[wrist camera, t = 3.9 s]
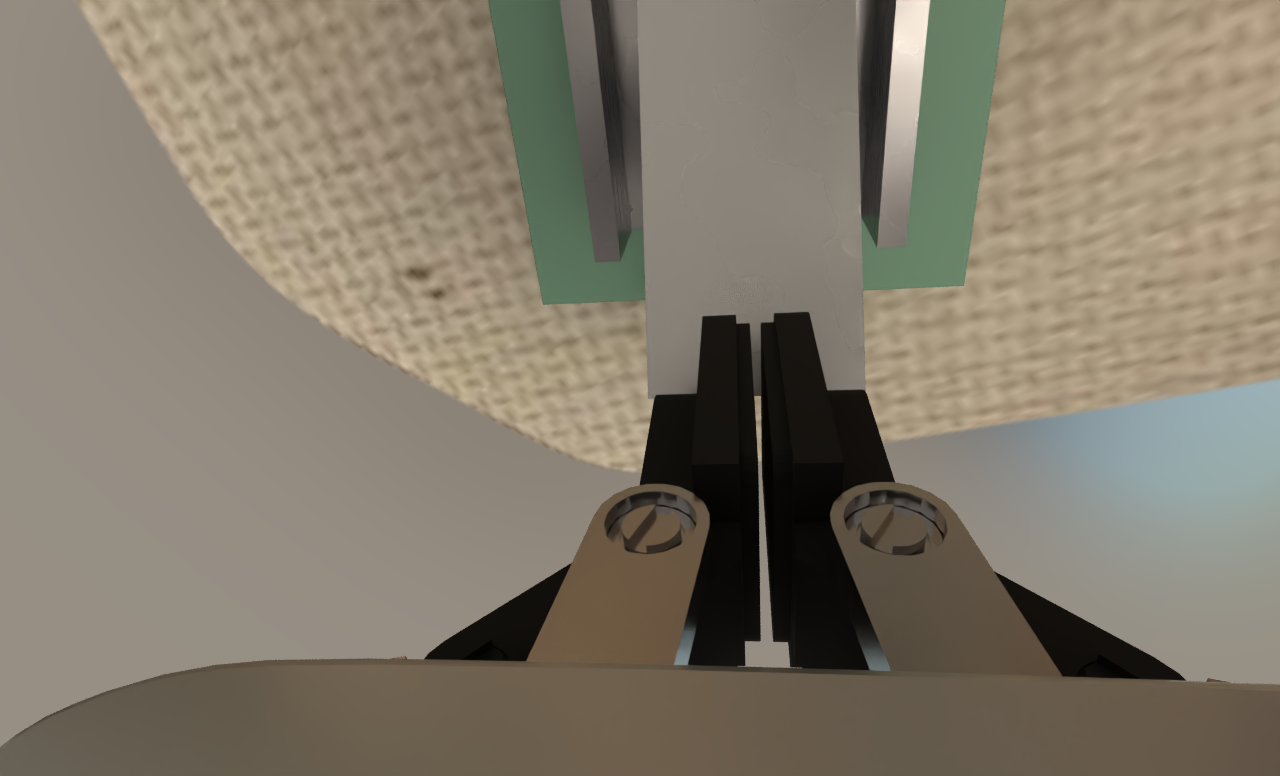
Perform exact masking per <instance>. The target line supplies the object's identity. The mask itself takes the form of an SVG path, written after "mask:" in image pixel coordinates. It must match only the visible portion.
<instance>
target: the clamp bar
mask: <svg viewBox="0 0 1280 776" xmlns="http://www.w3.org/2000/svg"><path fill="white" fill-rule="evenodd" d="M637 19H638V54H639V89H640V124H641V159H642V194H643V229H644V264H645V298H646V333H647V368H648V398H655V396H656V395H663V394H697V382H698V369H699V355H700V342H701V328H702V317H703V316H717V315H736V324H739V323H750V334H751V351H752V368H753V385H754V396H761V323H764V322H773V320H774V313H790V312H809V314H810V318H811V322H812V326H813V331H814V335H815V339H816V344H817V348H818V352H819V356H820V361H821V365H822V369H823V374H824V378H825V382H826V387H827V390H856V389H863V390H865V351H864V311H863V271H862V230H861V190H860V150H859V110H858V70H857V30H856V0H637ZM865 392H866V391H865Z"/></svg>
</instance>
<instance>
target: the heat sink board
mask: <svg viewBox="0 0 1280 776" xmlns="http://www.w3.org/2000/svg"><path fill="white" fill-rule="evenodd" d="M1005 2H1006V0H856V30H857V70H858V110H859V150H860V190H861V230H862V271H863V290H881V289H904V288H926V287H948V286H964V282H965V275H966V268H967V261H968V254H969V247H970V241H971V234H972V227H973V220H974V213H975V207H976V200H977V193H978V186H979V179H980V172H981V166H982V159H983V152H984V145H985V138H986V132H987V125H988V118H989V111H990V104H991V98H992V91H993V84H994V77H995V70H996V63H997V57H998V50H999V43H1000V36H1001V29H1002V23H1003V16H1004V9H1005ZM489 6H490V11H491V17H492V23H493V28H494V34H495V39H496V45H497V50H498V56H499V62H500V67H501V73H502V78H503V84H504V89H505V95H506V101H507V106H508V112H509V117H510V123H511V128H512V134H513V140H514V145H515V151H516V156H517V162H518V168H519V173H520V179H521V184H522V190H523V195H524V201H525V207H526V212H527V218H528V223H529V229H530V234H531V240H532V246H533V251H534V257H535V262H536V268H537V274H538V279H539V285H540V290H541V296H542V301H543V305H546V304H568V303H591V302H613V301H636V300H646V298H645V264H644V229H643V194H642V159H641V124H640V89H639V54H638V19H637V0H489Z"/></svg>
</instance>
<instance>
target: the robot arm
mask: <svg viewBox="0 0 1280 776" xmlns="http://www.w3.org/2000/svg"><path fill="white" fill-rule="evenodd" d="M761 427H762V480H763V494H764V510H765V525H766V541H767V556H768V571H769V587H770V602H771V616H772V631H773V641H774V642H788V645H789V657H790V667H799V668H771V667H769V668H768V667H738V666H745V641H761V640H760V639H761V638H760V636H761V635H760V565H759V564H760V563H759V561H760V560H759V488H758V487H759V484H758V453H757V436H756V419H755V402H754V385H753V368H752V351H751V334H750V323H739V324H736V315H717V316H703V317H702V328H701V342H700V355H699V369H698V382H697V394H663V395H656V396H655V399H654V404H653V410H652V416H651V422H650V428H649V434H648V439H647V445H646V451H645V457H644V463H643V469H642V475H641V481H640V486H635V487H630V488H628V489H625V490H623V491H621V492H619V493H616V494H614V495H613V496H612V497H610V498H609V499H608V500H607V501H605V502H604V503H603V504H602V505H601V506H600V508H599V509H598V510H597V512H596V513H595V515H594V517H593V519H592V521H591V523H590V525H589V527H588V530H587V532H586V534H585V536H584V538H583V540H582V542H581V545H580V547H579V549H578V551H577V553H576V555H575V557H574V560H573V562H572V563H571V564H569V565H567V566H566V567H564V568H563V569H561V570H559V571H558V572H556V573H554V574H553V575H551V576H550V577H548V578H546V579H545V580H543V581H541V582H540V583H538V584H537V585H535V586H533V587H532V588H530V589H529V590H527V591H525V592H524V593H522V594H520V595H519V596H517V597H515V598H514V599H512V600H510V601H509V602H508V603H506V604H504V605H502V606H501V607H499V608H497V609H496V610H494V611H493V612H491V613H489V614H488V615H486V616H484V617H483V618H481V619H480V620H478V621H476V622H475V623H473V624H471V625H470V626H468V627H466V628H465V629H463V630H462V631H460V632H459V633H457V634H455V635H453V636H452V637H450V638H449V639H447V640H446V641H444V642H443V643H441V644H440V645H439V646H438V647H436V648H435V649H434V650H432V651H431V652H430V653H429V654H428V655H427V656H426V657H425V659H407V657H406V656H403V657H397V658H391V659H369V658H368V659H312V660H311V659H308V660H307V659H306V660H264V661H253V662H242V663H232V664H221V665H220V664H219V665H212V666H207V667H202V668H196V669H190V670H185V671H180V672H174V673H170V674H163V675H160V676H157V677H154V678H150V679H146V680H143V681H140V682H136V683H133V684H130V685H126V686H123V687H119V688H116V689H112V690H109V691H106V692H103V693H101V694H98V695H95V696H93V697H91V698H88V699H85V700H83V701H80V702H77V703H75V704H72V705H70V706H68V707H66V708H64V709H62V710H59V711H57V712H55V713H53V714H50V715H48V716H46V717H44V718H42V719H41V720H39V721H38V722H36V723H34V724H33V725H31V726H30V727H28V728H26V729H24V730H23V731H21V732H20V733H18V734H16V735H15V736H14V737H12V738H11V739H10V740H9V741H7V742H6V743H5V744H3V745H2V746H1V747H0V776H1280V684H1249V683H1230V682H1225V681H1220V680H1214V679H1210V678H1208V679H1207V681H1206V682H1201V681H1186V680H1185V679H1184V678H1183V677H1182V676H1181V675H1180V674H1179V673H1177V672H1176V671H1174V670H1173V669H1171V668H1170V667H1168V666H1166V665H1165V664H1164V663H1162V662H1160V661H1159V660H1157V659H1156V658H1154V657H1152V656H1151V655H1149V654H1147V653H1145V652H1143V651H1141V650H1139V649H1138V648H1136V647H1134V646H1132V645H1130V644H1128V643H1126V642H1124V641H1123V640H1121V639H1119V638H1117V637H1115V636H1113V635H1112V634H1110V633H1108V632H1106V631H1104V630H1102V629H1100V628H1098V627H1097V626H1095V625H1093V624H1091V623H1089V622H1087V621H1085V620H1084V619H1082V618H1080V617H1078V616H1076V615H1074V614H1073V613H1071V612H1069V611H1067V610H1065V609H1063V608H1061V607H1060V606H1057V605H1056V604H1054V603H1052V602H1050V601H1048V600H1046V599H1045V598H1043V597H1041V596H1039V595H1037V594H1035V593H1034V592H1031V591H1030V590H1028V589H1026V588H1024V587H1022V586H1020V585H1019V584H1017V583H1015V582H1013V581H1011V580H1009V579H1007V578H1006V577H1004V576H1002V575H1000V574H998V573H996V572H994V571H993V569H992V568H991V566H990V565H989V563H988V562H987V560H986V559H985V557H984V555H983V554H982V552H981V551H980V549H979V548H978V546H977V545H976V543H975V542H974V540H973V539H972V537H971V536H970V534H969V532H968V531H967V529H966V528H965V526H964V525H963V523H962V522H961V520H960V519H959V517H958V516H957V514H956V513H955V512H954V511H953V510H952V509H951V508H950V507H949V505H948V504H947V503H946V502H944V501H943V500H941V499H940V498H938V497H937V496H935V495H933V494H932V493H930V492H927V491H925V490H922V489H919V488H917V487H914V486H912V485H906V484H901V483H895V481H894V478H893V474H892V471H891V468H890V465H889V462H888V459H887V456H886V453H885V450H884V446H883V443H882V440H881V437H880V434H879V431H878V428H877V425H876V421H875V418H874V415H873V412H872V409H871V406H870V403H869V400H868V396H867V394H866V392H865V390H863V389H856V390H827V387H826V382H825V378H824V374H823V369H822V365H821V361H820V356H819V352H818V348H817V344H816V339H815V335H814V331H813V326H812V322H811V318H810V314H809V312H790V313H774V320H773V322H764V323H761ZM800 667H801V668H800Z"/></svg>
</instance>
